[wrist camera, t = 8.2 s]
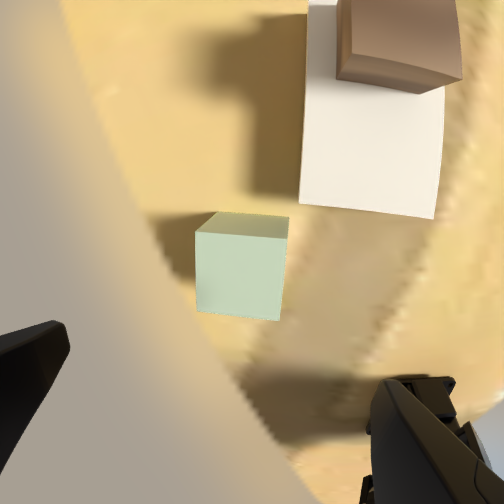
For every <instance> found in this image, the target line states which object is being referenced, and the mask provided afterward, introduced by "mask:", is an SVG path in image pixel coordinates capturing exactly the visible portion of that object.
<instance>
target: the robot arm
mask: <svg viewBox="0 0 504 504" xmlns="http://www.w3.org/2000/svg"><path fill="white" fill-rule="evenodd" d="M69 352H70V343H69V339H68V335H67V331H66V327H65V325H64V324H63V323H60V322H58V321H55V320H51V321H48V322H44V323H41V324H38V325H34V326H31V327H28V328H25V329H21V330H18V331H14V332H11V333H8V334H4V335H1V336H0V474H1V472H2V470H3V469H4V466H5V464H6V463H7V461H8V459H9V457H10V455H11V454H12V452H13V450H14V448H15V447H16V444H17V443H18V441H19V439H20V438H21V436H22V434H23V433H24V430H25V429H26V427H27V426H28V424H29V422H30V421H31V419H32V417H33V416H34V414H35V413H36V411H37V409H38V408H39V406H40V404H41V403H42V401H43V400H44V398H45V397H46V395H47V393H48V392H49V390H50V388H51V386H52V384H53V383H54V380H55V378H56V377H57V375H58V373H59V371H60V369H61V367H62V365H63V363H64V361H65V360H66V358H67V356H68V354H69ZM455 384H456V382H455V380H454V378H452V377H450V378H431V379H384V380H382V381H381V382H380V384H379V386H378V388H377V391H376V393H375V395H374V397H373V400H372V403H371V409H370V411H371V419H370V421H369V423H368V425H367V427H366V433H367V434H368V435H371V465H372V475H368V476H365V477H363V483H362V489H361V495H360V501H359V504H504V481H503V480H502V479H501V478H500V477H498V476H497V475H496V474H495V473H494V472H493V470H492V467H491V463H490V461H489V458H488V456H487V454H486V451H485V449H484V447H483V444H482V442H481V440H480V439H479V437H478V435H477V433H476V432H475V430H474V428H473V426H472V425H471V423H470V421H468V422H467V423H465V424H464V425H463V427H461V428H460V426H459V424H458V421H457V419H456V415H457V413H456V411H455V408H454V406H453V404H452V402H451V400H450V397H449V396H450V394H451V392H452V390H453V388H454V386H455Z"/></svg>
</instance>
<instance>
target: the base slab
mask: <svg viewBox="0 0 504 504" xmlns="http://www.w3.org/2000/svg"><path fill="white" fill-rule="evenodd" d="M337 1H338V0H308V7H307V44H306V74H305V97H304V117H303V134H302V150H301V165H300V179H299V192H298V198H299V203H301V204H311V205H322V206H331V207H341V208H350V209H359V210H367V211H376V212H384V213H392V214H399V215H407V216H414V217H421V218H428V219H433V217H434V211H435V205H436V198H437V191H438V184H439V175H440V166H441V156H442V144H443V128H444V86H442V87H439V88H436V89H434V90H431V91H428V92H425V93H423V94H420V95H419V94H414V93H410V92H406V91H401V90H396V89H391V88H386V87H381V86H375V85H369V84H363V83H356V82H350V81H342V80H336V53H337V15H336V5H337Z"/></svg>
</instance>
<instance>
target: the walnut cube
mask: <svg viewBox="0 0 504 504" xmlns="http://www.w3.org/2000/svg"><path fill="white" fill-rule="evenodd" d="M336 15H337V53H336V80H342V81H350V82H356V83H363V84H369V85H375V86H381V87H386V88H391V89H396V90H401V91H406V92H410V93H414V94H419V95H420V94H423V93H425V92H428V91H431V90H434V89H436V88H439V87H442V86H445V85H448V84H451V83H454V82H457V81H460V80H462V58H461V45H460V34H459V26H458V18H457V11H456V4H455V0H338V1H337V5H336Z"/></svg>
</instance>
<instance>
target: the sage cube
mask: <svg viewBox="0 0 504 504" xmlns="http://www.w3.org/2000/svg"><path fill="white" fill-rule="evenodd" d="M288 228H289V217H283V216H271V215H258V214H245V213H232V212H217V213H216V214H214V215H213V216H212V217H211V218H210V219H209V220H208V221H206V222H205V223H204V224H203V225H202V226H201V227H200V228H199V229H197V230H196V231H195V267H196V304H197V311H199V312H207V313H214V314H222V315H230V316H238V317H247V318H256V319H265V320H275V321H279V319H280V310H281V302H282V293H283V283H284V273H285V262H286V251H287V240H288Z"/></svg>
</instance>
